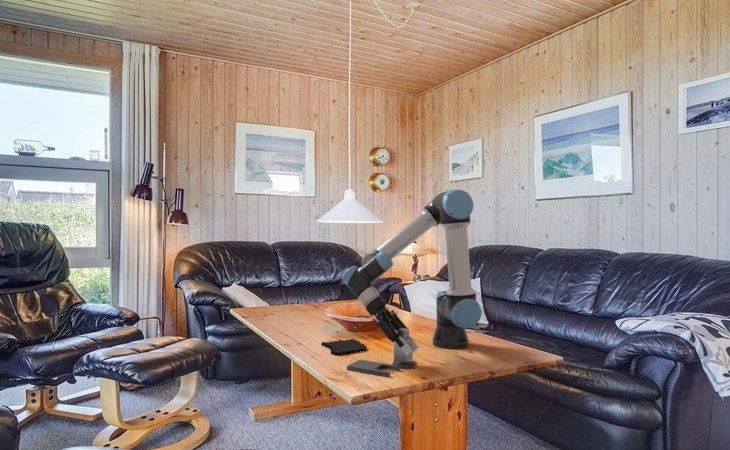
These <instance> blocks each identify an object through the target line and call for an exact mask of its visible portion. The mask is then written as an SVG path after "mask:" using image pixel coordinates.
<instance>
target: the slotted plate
mask: <svg viewBox="0 0 730 450" xmlns="http://www.w3.org/2000/svg"><path fill="white" fill-rule="evenodd" d="M382 369H384V370H382ZM346 370H347V371H352V372H358V373H363V374H369V375H374V376H378V377H386V378H389V377H391V371H396V372H399V371H401V368H400V366H397V365H392V364H390V363H383V362H378V361H372V360H367V359H359V360H356V361H354V362H352V363H350V364H348V365H346ZM387 370H390V371H387Z"/></svg>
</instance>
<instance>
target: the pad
mask: <svg viewBox="0 0 730 450" xmlns="http://www.w3.org/2000/svg"><path fill="white" fill-rule="evenodd" d="M391 365H397V366H400V369H404V370H405V369H406V370H407V369H408V370H414V369H415V367H416V360H410V361H409V362H407V363H406V362H399V361H394V360H393V361H392V364H391Z"/></svg>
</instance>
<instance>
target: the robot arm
mask: <svg viewBox="0 0 730 450" xmlns="http://www.w3.org/2000/svg"><path fill="white" fill-rule="evenodd" d="M473 211H474V201H473V198H472V197H471V195H470V194H469V193H468V192H467V191H466V190H462V189H450V190H448V191H443V192H441V193H439V194H437V195H436V196H435V197H433V199H432V200H431V201H429V202H428V203H426V205H425V206H424V207H422V209H421V212H420V213H419V214H418V215H416V216H415V217H414V218H413V219H412V220H410V221H409V222H408V223H406V224H405V225H404V226H402V227H401V228H400V229H399V230H397V231H396V232H395V233H393V235H392V236H390V237H389V238H388V239H387V240H385V241H384V242H383V243H381V244H380V245H379V246H378V247H376V248H375V249H374V250H373V251H371V252H370V253H368V254H366V255H364V257H362V259H361V266H360V267H358V266H357V265H352V266H350V267H349V268H347V269H346V270H345V271H344V272H343V274H342V275H341V279H342V281H343V282H344V283H345V285H346V287H347V288H348V289H349V291H351V293H352V294H353V296H354V297H356V299H357V300H358V301H359V303H360V305H362V306H363V307H364V308H365V310H366V312H367V313H368V315H370V316H371V317H372V316H374V318H373V319H372V321H373V322H374V323H375V324H376V325H377V326H378V327H379V329H380V330H381V332H382V334H384V335H385V336H386V337H387V339H388V340H389V341H390V342H391V343H393V344H394V341H395V342H396V343H397V345H398V346H399V347H400V348H401V350H402V351H403V352H404V353H405V355H406V356H408V355H409V354H410V353H411V352H412V353H414V352H416V351H417V350H418V349H419V345H418V344H417V342H415V341H414V339H413V338H412V350H411V348H410V347H409V346H408V345H407V343H406V342H405V341H404V340H403V338H402V337H401V336H400V337H399V336H398V334H397V330H398V329H400V328H405V329H409V328H408V327H407V326H406V325H405V323H404V322H403V321H402V319H400V317H399V316H398V315H397V314H396V312H395V311H394V310H393V309H391V310H389V309H388V308H387V307H386V305H387V302H386V300H385V299H384V298H383V297H382V296H381V295H380V293H379V292H378V290H377V289H376V288H375V287H374V286H373V284H372V283H374V282H375V281H376V280H378V278H380V277H381V276H383V275H384V274H385V273H386V272H388V271H389V270H390V269H391V268H392V267H393V266H394V263H393V260H392V259H395V257H397V256H398V255H399V254H400V253H401V252H403V251H404V250H405V249H407V248H408V247H409V246H410V245H412V244H413V243H414V242H415V241H417V240H418V239H419V238H420V237H422V236H423V234H426V233H427V231H429V230H430V229H432V228H433V227H434V228H435V227H436V228H437V226H439V225H440V226H441V227H443V228H444V233H445V244H446V245H445V247H446V259H447V271H448V272H447V274H448V286H449V288H448V290H438V291H437V292H436V297H435V300H436V301H435V302H436V306H435V307H436V327H435V329H434V333H433V336H432V345H433V346H434V347H437V348H441V349H442V348H443V349H450V350H451V349H452V350H454V349H455V350H456V349H458V350H459V349H465V348H468V347H469V346H470V345H469V337H468V334H467V332H466V331H467V330H466V329H470V328H473V327H474V326H476V325H477V324H479V322H480V320H481V318H482V314H483V313H482V307H481V305H480V304H479V302H477V291H476V290H474V289H473V288H472V280H471V279H472V277H471V265H470V264H471V263H470V250H469V238H468V227H469V225H470V224H471V214H472V212H473ZM398 337H399V338H398ZM409 337H411V336H410V335H409Z"/></svg>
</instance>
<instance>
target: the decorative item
mask: <svg viewBox="0 0 730 450" xmlns="http://www.w3.org/2000/svg"><path fill="white" fill-rule="evenodd" d="M321 346H323V347H324V348H325V347H326V348H327V349H328V350H329V351H330V355H333V356H337V357H338V356H340V357H341V356H347V355H351V354H356V353H361V352H366V351H367V350H368V346H367V345H365V343H362V342H361V340H357V339H354V338H351V339H343V340H341V339H339V340H334V341H322V342H321Z"/></svg>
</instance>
